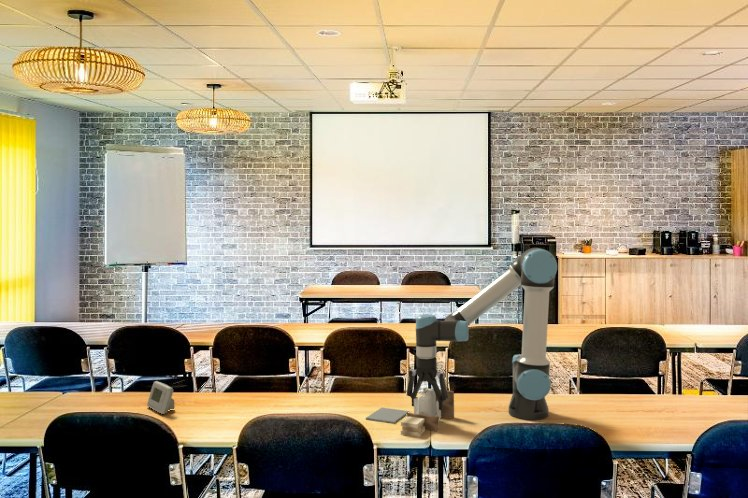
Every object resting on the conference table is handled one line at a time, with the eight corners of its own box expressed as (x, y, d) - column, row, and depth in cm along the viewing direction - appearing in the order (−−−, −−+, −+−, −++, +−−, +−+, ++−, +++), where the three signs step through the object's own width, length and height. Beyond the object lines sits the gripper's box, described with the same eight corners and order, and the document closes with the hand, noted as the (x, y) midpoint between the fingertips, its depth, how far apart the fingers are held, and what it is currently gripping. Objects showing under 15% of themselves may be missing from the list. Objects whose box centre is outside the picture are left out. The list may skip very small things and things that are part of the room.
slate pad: (409, 412, 242) (409, 411, 241) (394, 423, 229) (394, 421, 229) (381, 408, 247) (381, 407, 247) (365, 419, 234) (365, 417, 234)
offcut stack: (425, 430, 222) (425, 418, 222) (420, 437, 215) (419, 424, 215) (406, 428, 224) (406, 416, 224) (399, 435, 217) (399, 422, 217)
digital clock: (146, 407, 256) (145, 382, 256) (168, 403, 261) (167, 378, 260) (154, 417, 242) (153, 391, 242) (177, 413, 247) (176, 387, 246)
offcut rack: (454, 416, 235) (453, 391, 235) (438, 431, 220) (437, 403, 219) (425, 413, 241) (424, 387, 240) (407, 426, 225) (407, 400, 225)
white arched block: (428, 427, 224) (427, 394, 223) (417, 426, 226) (416, 393, 225) (437, 419, 233) (436, 387, 233) (426, 417, 235) (426, 386, 234)
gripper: (456, 356, 227) (457, 417, 228) (404, 352, 236) (405, 410, 237) (449, 361, 220) (450, 423, 221) (396, 356, 230) (397, 415, 231)
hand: (427, 416), depth 229 cm, fingers open, 8 cm apart
